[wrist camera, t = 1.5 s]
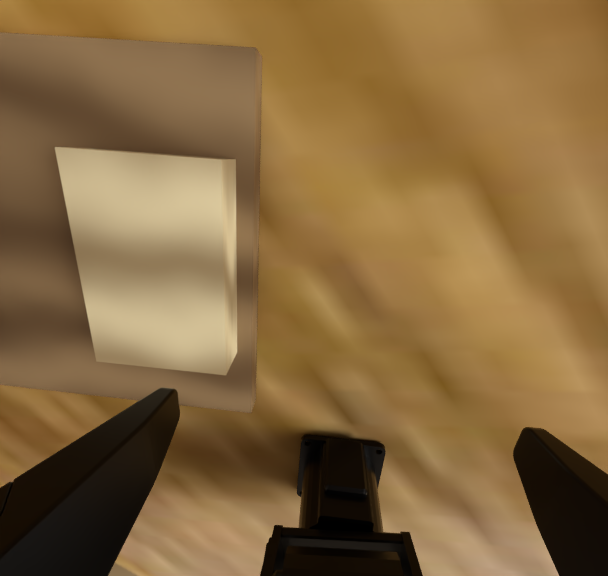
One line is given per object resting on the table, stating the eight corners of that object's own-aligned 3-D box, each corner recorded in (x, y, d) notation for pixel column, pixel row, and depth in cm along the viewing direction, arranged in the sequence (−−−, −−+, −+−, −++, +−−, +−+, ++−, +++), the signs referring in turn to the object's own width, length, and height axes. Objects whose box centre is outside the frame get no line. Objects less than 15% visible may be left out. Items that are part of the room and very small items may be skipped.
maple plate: (237, 352, 22) (226, 375, 20) (120, 340, 22) (96, 361, 20) (235, 159, 18) (221, 159, 15) (90, 148, 18) (54, 146, 16)
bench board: (255, 399, 25) (238, 453, 21) (-18, 368, 26) (-93, 414, 22) (262, 56, 17) (235, 18, 12) (-136, 32, 18) (-298, -11, 13)
